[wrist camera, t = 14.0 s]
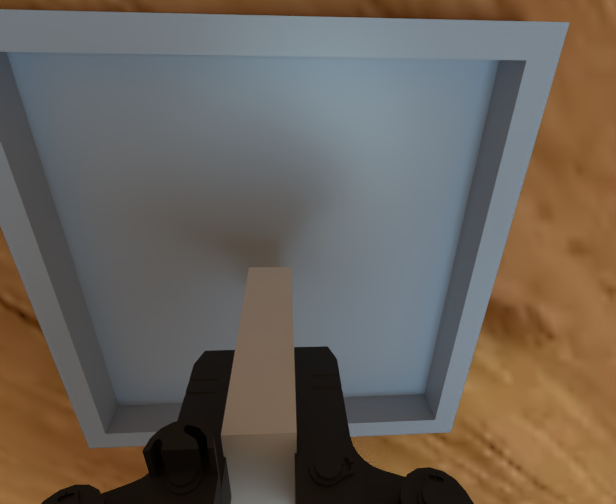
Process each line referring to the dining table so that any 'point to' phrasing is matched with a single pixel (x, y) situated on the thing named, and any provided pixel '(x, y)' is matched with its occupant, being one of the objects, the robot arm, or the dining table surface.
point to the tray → (263, 196)
